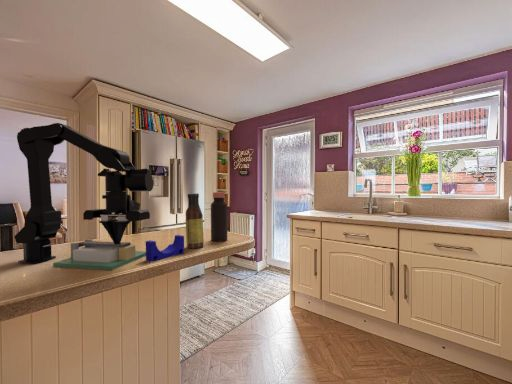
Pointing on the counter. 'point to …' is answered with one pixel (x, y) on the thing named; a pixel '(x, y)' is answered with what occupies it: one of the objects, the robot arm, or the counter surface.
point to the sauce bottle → (194, 222)
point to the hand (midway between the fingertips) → (117, 243)
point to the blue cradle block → (171, 250)
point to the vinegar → (218, 217)
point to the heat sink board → (97, 264)
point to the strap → (104, 244)
